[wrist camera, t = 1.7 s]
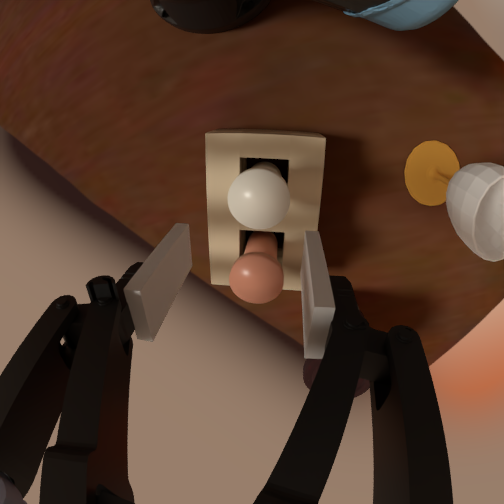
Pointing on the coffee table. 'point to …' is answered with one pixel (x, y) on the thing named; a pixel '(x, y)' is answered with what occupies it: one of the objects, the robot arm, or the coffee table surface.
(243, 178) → the ivory plug
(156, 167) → the coffee table surface
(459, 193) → the cup
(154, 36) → the coffee table surface
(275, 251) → the terracotta plug
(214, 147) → the beech block
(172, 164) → the coffee table surface
